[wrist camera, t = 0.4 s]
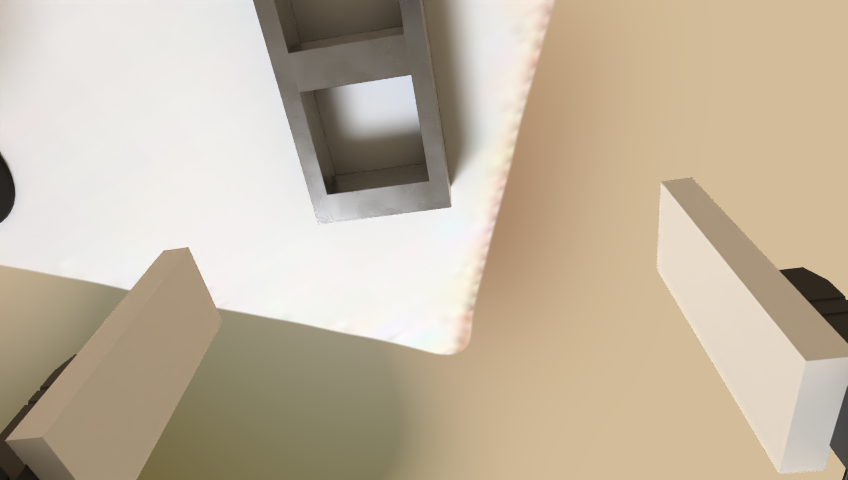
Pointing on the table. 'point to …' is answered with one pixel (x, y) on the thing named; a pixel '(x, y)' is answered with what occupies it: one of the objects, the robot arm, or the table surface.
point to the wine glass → (5, 191)
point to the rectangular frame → (353, 64)
